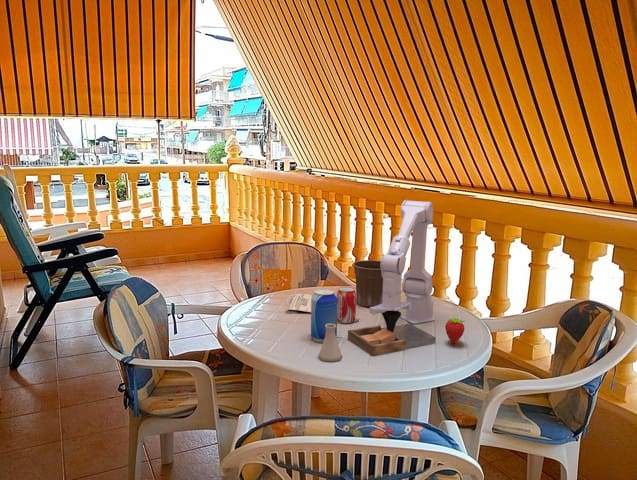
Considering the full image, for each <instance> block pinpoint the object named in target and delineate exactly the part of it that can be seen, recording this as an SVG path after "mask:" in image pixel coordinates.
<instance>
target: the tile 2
mask: <svg viewBox="0 0 637 480" xmlns="http://www.w3.org/2000/svg"><path fill="white" fill-rule="evenodd" d="M383 328H384V329H382V330H380V331H378V332H376V333H374V334H372V335H373V336H375V337H376V338H378V339H380V342H379V344H382V343H387V342H392V341H394V340H395V336H394V333H393V332H391V331H389V330H387V329H386V327H383Z"/></svg>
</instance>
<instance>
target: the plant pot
mask: <svg viewBox="0 0 637 480" xmlns="http://www.w3.org/2000/svg"><path fill="white" fill-rule="evenodd" d="M380 264H381V260H375V259H373V260H371V259H369V260H368V259H366V260H357V261H355V262H353V263H352V265H353V268H354V269H353V270H354V271H353V272H354V276H355V292H356V305H357V304H358V305H359V306H361V307H364V308H365V307H366V308H370V307H374V306H377V305H380V304H382V296H383V277H382V271H381V267H380Z"/></svg>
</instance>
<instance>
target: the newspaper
mask: <svg viewBox="0 0 637 480" xmlns="http://www.w3.org/2000/svg"><path fill="white" fill-rule="evenodd" d="M312 296H313V294H307V293H293V294H292V295H288V297H287V300H286V304H285V307H284V308H285V313H286V314H287V313H288V314H289V313H291V314H297V313H298V311H301V312H306V313H311V298H312Z"/></svg>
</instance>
